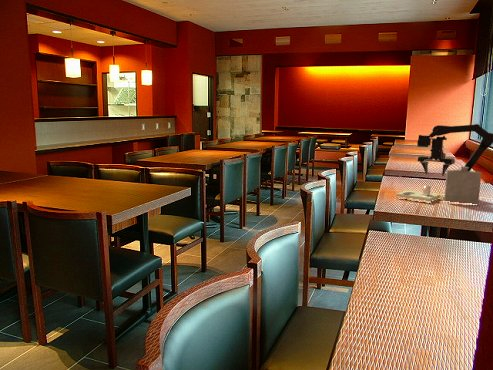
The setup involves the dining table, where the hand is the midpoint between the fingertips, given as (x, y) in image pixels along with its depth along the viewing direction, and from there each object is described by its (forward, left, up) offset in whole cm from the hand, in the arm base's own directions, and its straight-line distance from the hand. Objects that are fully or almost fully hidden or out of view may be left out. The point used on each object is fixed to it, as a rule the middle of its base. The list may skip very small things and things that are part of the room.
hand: (434, 175), depth 240 cm
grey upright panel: (-19, +12, -12) cm, 26 cm away
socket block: (+2, +16, -12) cm, 20 cm away
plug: (-3, +16, -12) cm, 20 cm away
